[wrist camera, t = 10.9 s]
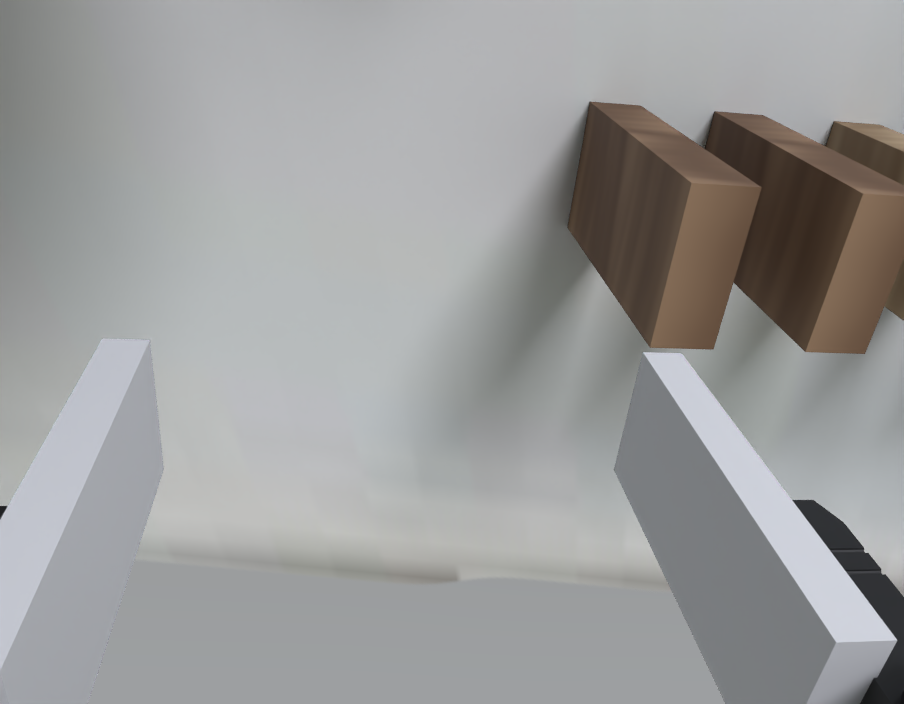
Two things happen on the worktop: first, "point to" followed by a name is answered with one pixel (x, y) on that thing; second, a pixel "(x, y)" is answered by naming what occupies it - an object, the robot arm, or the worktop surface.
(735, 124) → the domino
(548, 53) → the worktop surface
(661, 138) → the domino
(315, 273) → the worktop surface
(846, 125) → the tile
